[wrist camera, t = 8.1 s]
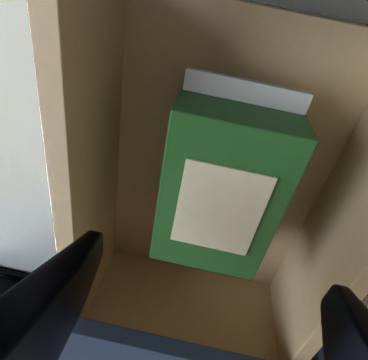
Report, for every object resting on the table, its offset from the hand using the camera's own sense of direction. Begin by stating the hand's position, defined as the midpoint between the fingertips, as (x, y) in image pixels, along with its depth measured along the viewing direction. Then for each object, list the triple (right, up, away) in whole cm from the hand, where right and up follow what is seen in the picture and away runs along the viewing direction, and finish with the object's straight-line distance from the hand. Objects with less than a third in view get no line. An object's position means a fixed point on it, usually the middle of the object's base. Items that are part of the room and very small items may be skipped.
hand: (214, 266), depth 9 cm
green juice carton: (+1, +4, +6) cm, 7 cm away
